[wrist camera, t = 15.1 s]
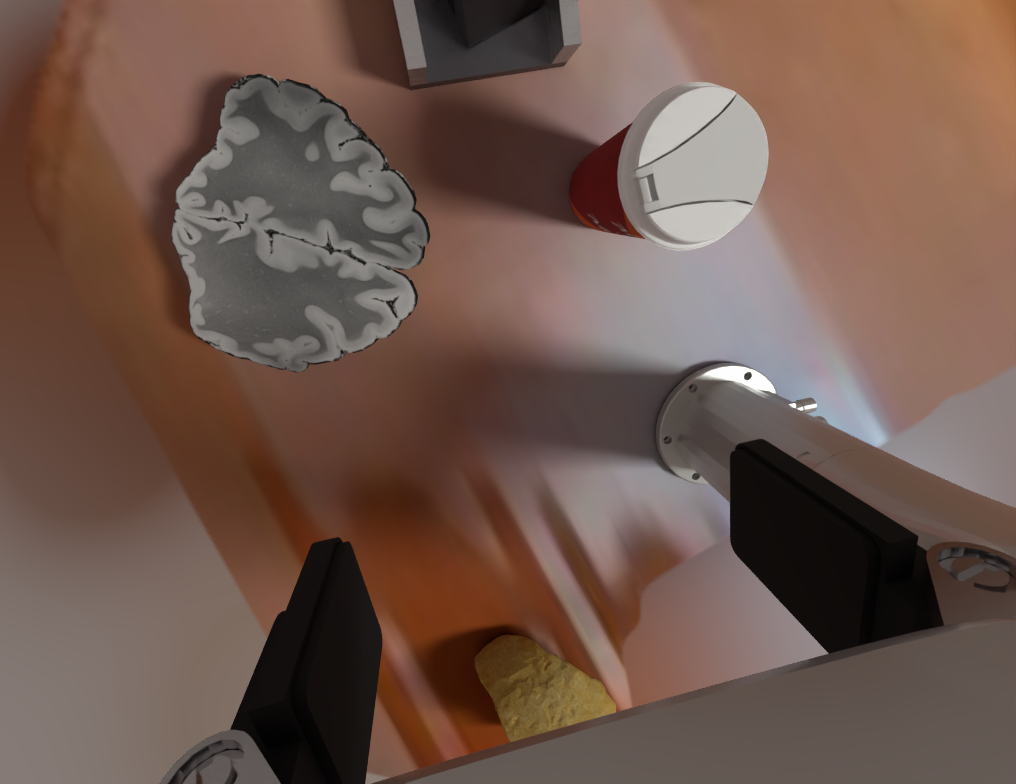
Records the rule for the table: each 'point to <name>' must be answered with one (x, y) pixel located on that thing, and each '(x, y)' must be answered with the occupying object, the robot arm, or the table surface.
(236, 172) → the brain slice
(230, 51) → the table surface
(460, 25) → the phone stand
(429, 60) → the guide cradle
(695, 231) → the coffee cup
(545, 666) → the decorative stone
